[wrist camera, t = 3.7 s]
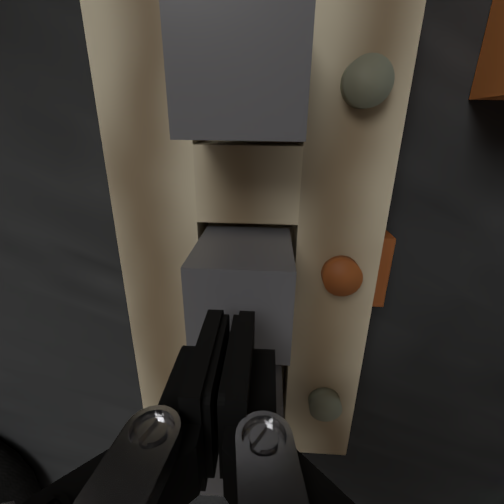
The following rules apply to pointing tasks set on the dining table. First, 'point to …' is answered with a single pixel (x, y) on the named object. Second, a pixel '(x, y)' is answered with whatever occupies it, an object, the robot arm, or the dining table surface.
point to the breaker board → (262, 194)
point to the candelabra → (15, 477)
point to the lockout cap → (491, 58)
